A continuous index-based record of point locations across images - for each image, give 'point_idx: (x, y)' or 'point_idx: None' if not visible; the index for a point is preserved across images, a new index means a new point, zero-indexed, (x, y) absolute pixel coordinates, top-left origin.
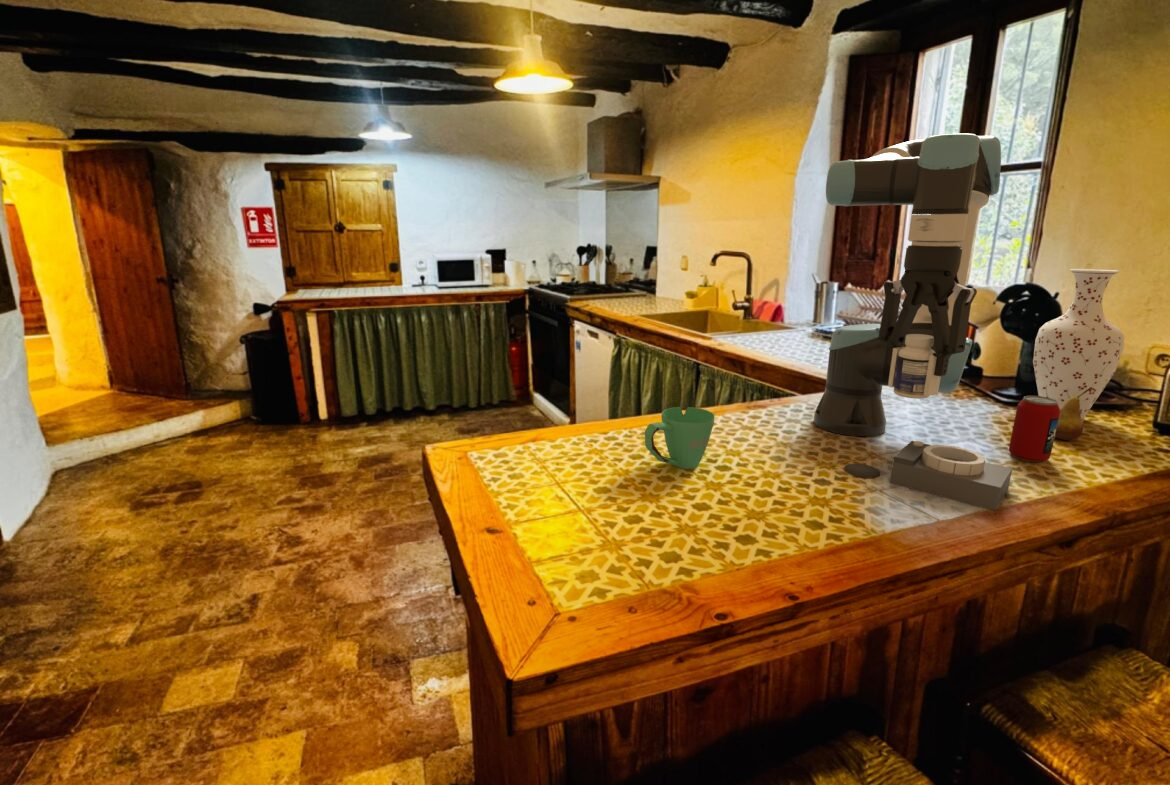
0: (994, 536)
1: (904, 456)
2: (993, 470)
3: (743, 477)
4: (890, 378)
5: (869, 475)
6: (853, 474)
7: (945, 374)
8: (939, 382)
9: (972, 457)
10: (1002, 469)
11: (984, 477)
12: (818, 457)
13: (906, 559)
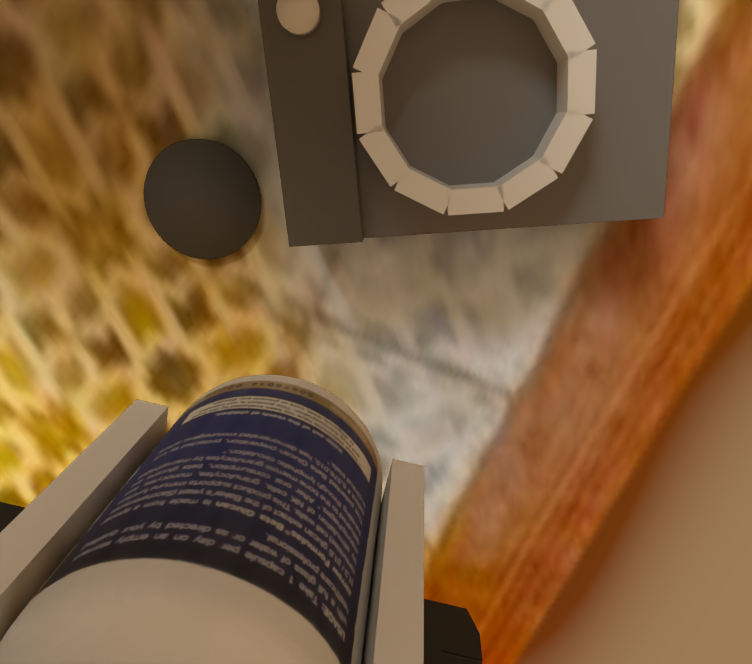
0: (649, 392)
1: (317, 214)
2: (618, 26)
3: (27, 497)
4: None
5: (243, 236)
6: (203, 258)
7: (470, 616)
8: (422, 520)
9: (534, 12)
10: None
11: (600, 149)
12: (36, 180)
13: (509, 625)
